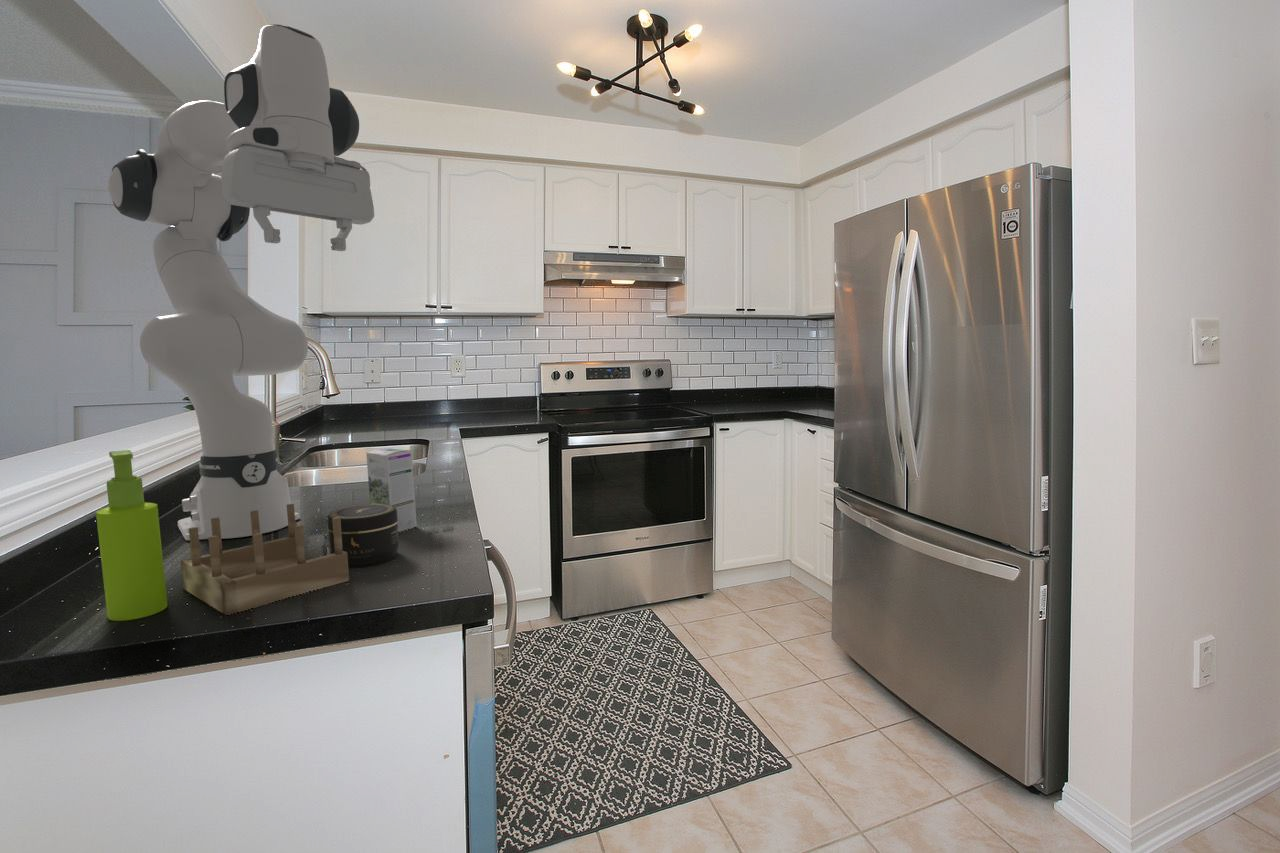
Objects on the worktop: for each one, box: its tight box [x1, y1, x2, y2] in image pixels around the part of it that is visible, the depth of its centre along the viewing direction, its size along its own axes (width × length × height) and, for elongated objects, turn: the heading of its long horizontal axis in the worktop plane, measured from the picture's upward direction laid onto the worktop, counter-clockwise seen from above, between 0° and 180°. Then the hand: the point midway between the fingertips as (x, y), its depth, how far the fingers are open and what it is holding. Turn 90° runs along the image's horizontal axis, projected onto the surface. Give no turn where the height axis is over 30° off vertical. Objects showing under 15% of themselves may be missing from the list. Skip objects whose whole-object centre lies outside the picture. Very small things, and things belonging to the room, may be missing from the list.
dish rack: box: [180, 503, 350, 616], centre depth 88 cm, size 15×15×9 cm
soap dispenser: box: [95, 449, 168, 622], centre depth 79 cm, size 6×7×20 cm
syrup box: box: [365, 447, 418, 533], centre depth 115 cm, size 6×6×14 cm
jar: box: [326, 503, 399, 568], centre depth 99 cm, size 10×10×8 cm
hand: (307, 246), depth 94 cm, fingers open, 8 cm apart
